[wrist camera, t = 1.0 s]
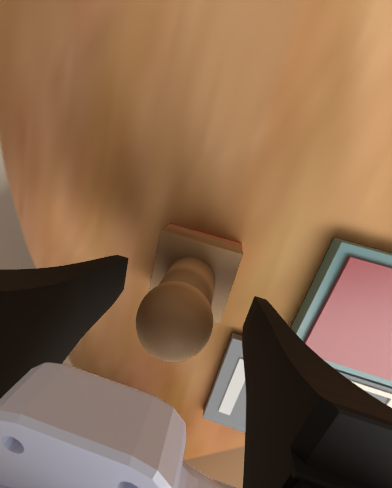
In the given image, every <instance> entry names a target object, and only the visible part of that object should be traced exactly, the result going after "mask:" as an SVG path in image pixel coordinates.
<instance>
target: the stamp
mask: <svg viewBox="0 0 392 488" xmlns="http://www.w3.org/2000/svg"><path fill="white" fill-rule="evenodd" d="M242 256H243V251H242V243H238V242H235V241H231V240H228V239H224V238H221V237H217V236H214V235H210V234H206V233H203V232H199V231H196V230H192V229H189V228H185V227H182V226H178V225H175V224H171V223H170V224H169V225H168V226H166V227H165V228H164V229H163V230H161V232H160V237H159V242H158V247H157V252H156V257H155V262H154V268H153V273H152V278H151V283H150V288H149V293H148V294H147V295H146V296H145V297H144V299H143V300H142V302H141V304H140V306H139V308H138V312H137V317H136V329H137V334H138V337H139V340H140V342H141V344H142V345H143V347H144V348H145V349H146V350H147V351H148V352H149V353H150V354H151V355H152V356H154V357H155V358H157V359H160V360H162V361H166V362H181V361H185V360H187V359H190V358H191V357H193V356H195V355H196V354H197V353H199V352H200V351H201V350H202V349H203V348H204V346H205V345H206V343H207V342H208V340H209V337H210V335H211V332H212V328H213V322H216V323H220V320H221V317H222V314H223V311H224V308H225V305H226V302H227V299H228V297H229V294H230V291H231V288H232V285H233V282H234V279H235V276H236V273H237V270H238V267H239V264H240V261H241V259H242Z"/></svg>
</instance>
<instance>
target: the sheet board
mask: <svg viewBox="0 0 392 488" xmlns="http://www.w3.org/2000/svg"><path fill="white" fill-rule="evenodd" d="M334 369H335V368H334ZM335 370H337V371H338V372H339V373H341V374H342V375H343V376H345V377H346V378H347V379H349V380H350V381H351V382H353V383H354V384H356V385H357V386H359V387H360V388H361V389H363V390H364V391H366V392H367V393H369V394H370V395H372V396H373V397H375V398H376V399H378V400H380V401H381V402H383V403H385V404H386V405H388V406H389V407H391V408H392V387H391V386H388V385H385V384H382V383H379V382H376V381H373V380H369V379H366V378H363V377H360V376H357V375H354V374H351V373H347V372H344V371H341V370H338V369H335ZM203 418H205V419H207V420H210V421H213V422H216V423H219V424H222V425H225V426H227V427H230V428H233V429H236V430H239V431H242V432H244V433H245V431H246V384H245V373H244V362H243V350H242V335H238V334H235V333H232V336H231V339H230V341H229V344H228V347H227V349H226V352H225V355H224V358H223V360H222V363H221V366H220V368H219V371H218V374H217V376H216V379H215V382H214V384H213V387H212V390H211V392H210V395H209V398H208V400H207V403H206V406H205V408H204V411H203Z"/></svg>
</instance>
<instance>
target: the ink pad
mask: <svg viewBox="0 0 392 488" xmlns="http://www.w3.org/2000/svg"><path fill="white" fill-rule="evenodd" d="M291 329H292V330H293V331H294V332H295V333H296V334H297V335H298V336H299V338H300V339H301V340H302V341H303V342H304V343H305V344H306V345H307V346H309V347H310V348H311V349H312V350H313V351H314V352H315V353H316V354H317V355H318V356H320V357H321V358H322V359H323V360H324V361H325V362H327V363H328V364H329V365H330V366H332V367H333V368H335V369H338V370H341V371H344V372H347V373H351V374H354V375H357V376H360V377H363V378H366V379H369V380H373V381H376V382H379V383H382V384H385V385H388V386H391V387H392V253H390V252H386V251H382V250H379V249H375V248H371V247H368V246H364V245H360V244H357V243H353V242H349V241H346V240H342V239H338V238H334V239H333V241H332V243H331V245H330V247H329V249H328V251H327V254H326V256H325V258H324V260H323V262H322V264H321V266H320V268H319V270H318V272H317V274H316V276H315V279H314V281H313V283H312V285H311V287H310V289H309V291H308V293H307V295H306V297H305V299H304V301H303V304H302V306H301V308H300V310H299V312H298V314H297V316H296V318H295V320H294V322H293V324H292V326H291Z"/></svg>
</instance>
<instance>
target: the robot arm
mask: <svg viewBox="0 0 392 488" xmlns="http://www.w3.org/2000/svg"><path fill="white" fill-rule="evenodd" d="M127 264H128V258H126V257H123V256H119V255H114V256H109V257H104V258H100V259H95V260H91V261H86V262H81V263H76V264H70V265H65V266H58V267H49V268H39V269H21V270H20V269H19V270H0V488H236V487H233V486H230V485H227V484H225V483H222V482H219V481H217V480H214V479H211V478H210V477H208V476H207V475H205V474H203V473H202V472H200V471H198V470H197V469H195V468H194V467H193V466H191V465H190V464H188V463H186V462H185V461H183V455H184V450H185V444H186V424H185V422H184V421H183V419H182V418H181V417H180V415H179V414H178V413H177V411H176V410H175V409H174V407H173V406H172V405H171V404H169V403H167V402H165V401H164V400H162V399H160V398H158V397H157V396H155V395H152V394H150V393H147V392H144V391H141V390H138V389H135V388H132V387H130V386H127V385H124V384H121V383H118V382H115V381H112V380H110V379H107V378H104V377H101V376H98V375H95V374H92V373H90V372H87V371H84V370H81V369H78V368H75V367H72V366H69V365H65V364H62V363H63V361H64V360H65V359H66V357H67V356H68V355H69V353H70V352H71V351H72V349H73V348H74V347H75V345H76V344H77V343H78V342H79V340H80V339H81V338H82V337H83V336H84V335H85V333H86V332H87V331H88V330H89V329H90V328H91V327H92V326H93V325H94V324H95V323H96V322H97V321H98V320H99V319H100V318H101V316H102V315H103V314H104V313H105V312H106V311H107V310H108V309H109V308H110V307H111V306H112V305H113V304H114V302H115V301H116V300H117V298H118V297H119V295H120V294H121V293H122V291H123V290H124V284H125V277H126V270H127ZM242 350H243V362H244V373H245V384H246V431H245V457H244V459H245V460H244V477H243V488H392V408H391V407H389V406H388V405H386V404H385V403H383V402H381V401H380V400H378V399H376V398H375V397H373V396H372V395H370V394H369V393H367V392H366V391H364V390H363V389H361V388H360V387H359V386H357V385H356V384H354V383H353V382H351V381H350V380H349V379H347V378H346V377H345V376H343V375H342V374H341V373H339V372H338V371H337V370H335V369H334V368H333V367H332V366H330V365H329V364H328V363H327V362H325V361H324V360H323V359H322V358H321V357H320V356H318V355H317V354H316V353H315V352H314V351H313V350H312V349H311V348H310V347H309V346H307V345H306V344H305V343H304V342H303V341H302V340H301V339H300V338H299V336H298V335H297V334H296V333H295V332H294V331H293V330H292V329H291V328H290V327H289V326H288V325H287V323H286V322H285V321H284V320H283V319H282V318H281V316H280V315H279V314H278V313H277V311H276V310H275V309H274V308H273V307H272V305H271V304H270V303H269V302H268V301H267V300H266V299H262V298H259V297H256V296H255V297H254V299H253V302H252V305H251V307H250V310H249V312H248V315H247V317H246V320H245V322H244V325H243V333H242Z"/></svg>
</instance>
